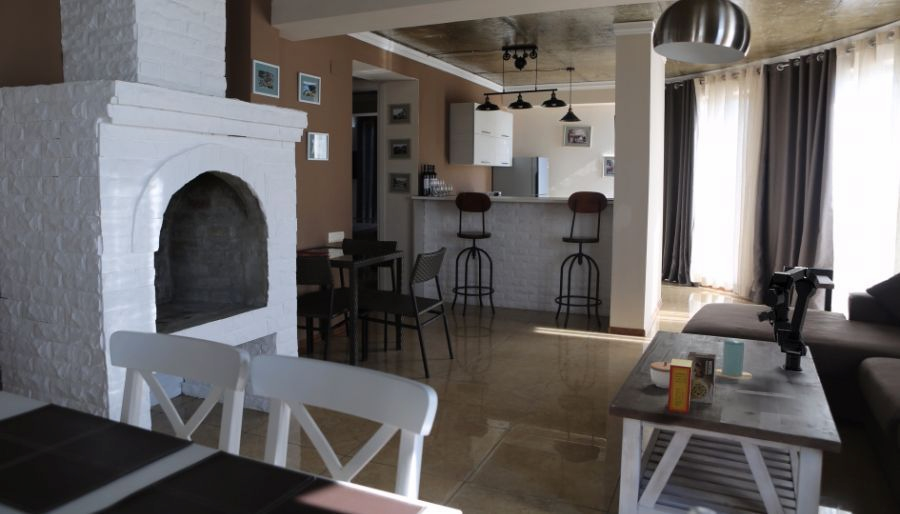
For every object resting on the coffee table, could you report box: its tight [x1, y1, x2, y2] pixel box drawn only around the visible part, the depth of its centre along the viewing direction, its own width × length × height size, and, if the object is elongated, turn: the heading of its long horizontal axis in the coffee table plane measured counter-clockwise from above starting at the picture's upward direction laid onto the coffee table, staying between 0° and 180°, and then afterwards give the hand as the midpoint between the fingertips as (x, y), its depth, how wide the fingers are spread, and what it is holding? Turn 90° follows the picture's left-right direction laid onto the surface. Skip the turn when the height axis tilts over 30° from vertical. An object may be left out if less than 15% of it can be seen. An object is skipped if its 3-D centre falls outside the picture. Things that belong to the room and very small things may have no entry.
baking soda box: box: [667, 357, 692, 414], centre depth 234 cm, size 10×6×16 cm
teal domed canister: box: [721, 338, 745, 377], centre depth 273 cm, size 7×7×13 cm
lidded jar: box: [650, 360, 671, 389], centre depth 259 cm, size 11×11×9 cm
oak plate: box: [715, 368, 753, 381], centre depth 273 cm, size 15×15×1 cm
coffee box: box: [687, 351, 717, 405], centre depth 243 cm, size 9×6×16 cm
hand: (778, 343), depth 275 cm, fingers open, 9 cm apart
